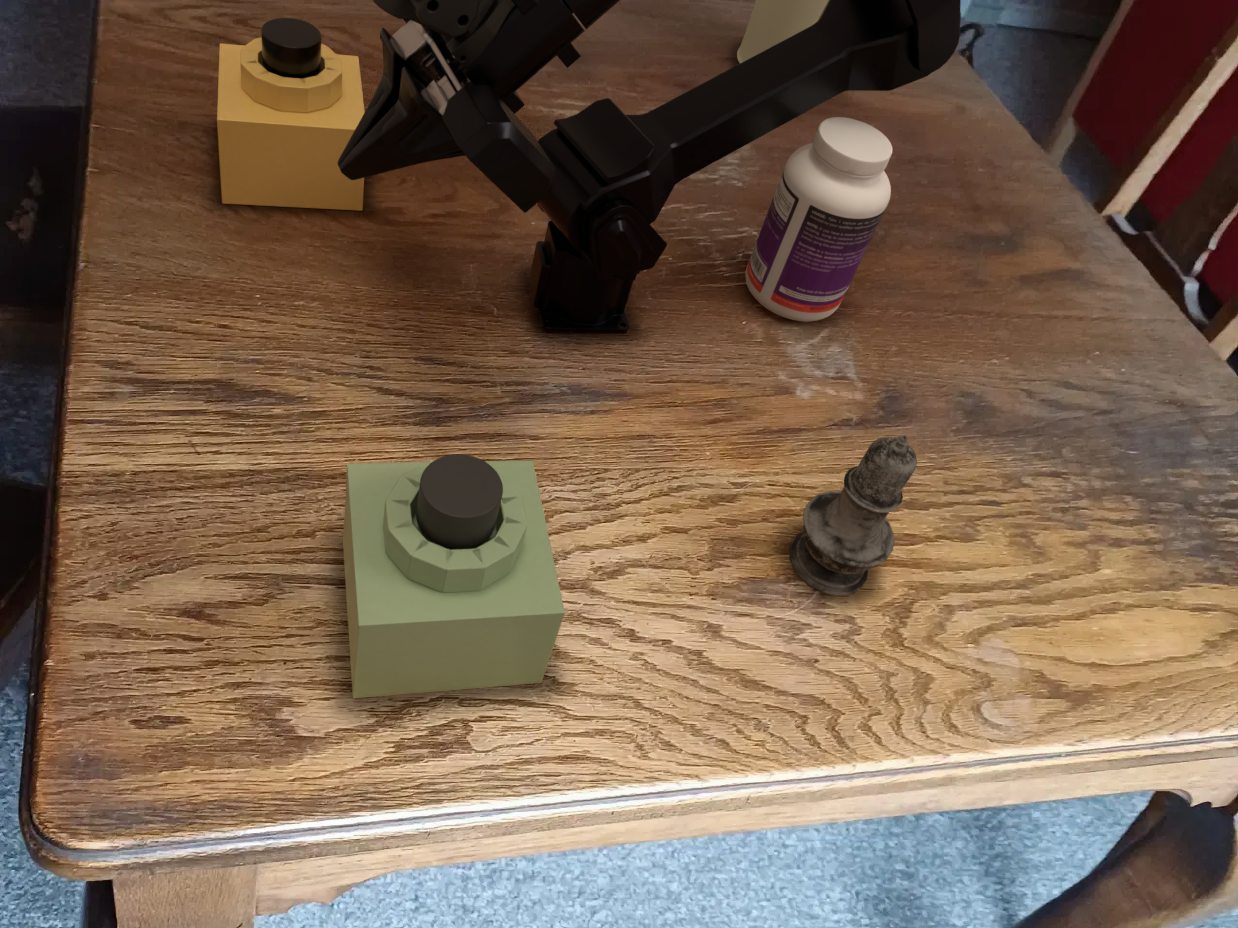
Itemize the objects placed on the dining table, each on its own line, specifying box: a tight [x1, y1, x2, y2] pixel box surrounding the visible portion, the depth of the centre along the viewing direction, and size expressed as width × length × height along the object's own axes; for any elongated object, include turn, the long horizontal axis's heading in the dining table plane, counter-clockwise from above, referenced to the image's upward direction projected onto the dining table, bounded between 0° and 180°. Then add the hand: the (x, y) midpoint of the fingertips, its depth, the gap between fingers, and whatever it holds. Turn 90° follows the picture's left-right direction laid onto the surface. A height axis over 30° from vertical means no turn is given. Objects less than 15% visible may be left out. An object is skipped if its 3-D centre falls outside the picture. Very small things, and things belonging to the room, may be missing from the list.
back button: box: [260, 17, 322, 79], centre depth 76 cm, size 4×4×3 cm
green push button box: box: [342, 459, 566, 699], centre depth 57 cm, size 10×10×9 cm
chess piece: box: [788, 435, 918, 597], centre depth 64 cm, size 6×6×12 cm
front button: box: [416, 453, 503, 549], centre depth 53 cm, size 4×4×2 cm
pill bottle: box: [745, 116, 893, 323], centre depth 81 cm, size 8×8×14 cm
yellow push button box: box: [216, 36, 366, 212], centre depth 80 cm, size 10×10×9 cm
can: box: [736, 0, 828, 64], centre depth 108 cm, size 9×9×12 cm
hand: (343, 172), depth 62 cm, fingers closed
